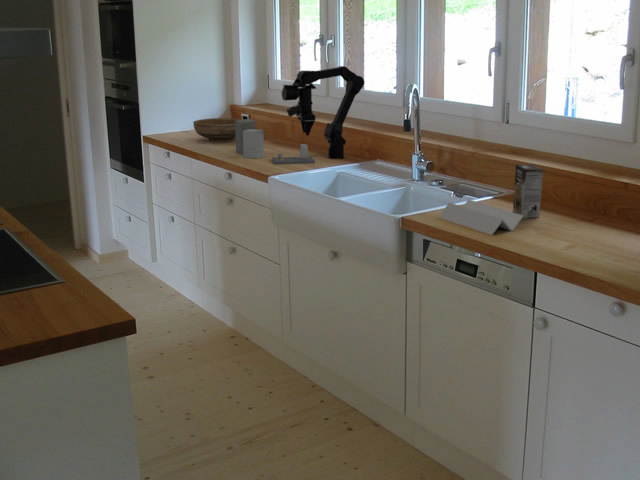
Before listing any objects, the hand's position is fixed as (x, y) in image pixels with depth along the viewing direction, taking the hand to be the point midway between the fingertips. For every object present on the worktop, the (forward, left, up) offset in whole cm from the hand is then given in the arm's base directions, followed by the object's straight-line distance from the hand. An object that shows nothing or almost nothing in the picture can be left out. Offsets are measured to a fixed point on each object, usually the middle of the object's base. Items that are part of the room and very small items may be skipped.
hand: (305, 134), depth 357 cm
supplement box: (+23, -11, -12) cm, 28 cm away
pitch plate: (+6, +3, -12) cm, 14 cm away
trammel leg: (+1, +3, -10) cm, 11 cm away
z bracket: (-41, +120, -12) cm, 128 cm away
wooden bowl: (+37, -64, -12) cm, 75 cm away
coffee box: (-60, +112, -12) cm, 128 cm away
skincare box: (+26, -23, -12) cm, 37 cm away
